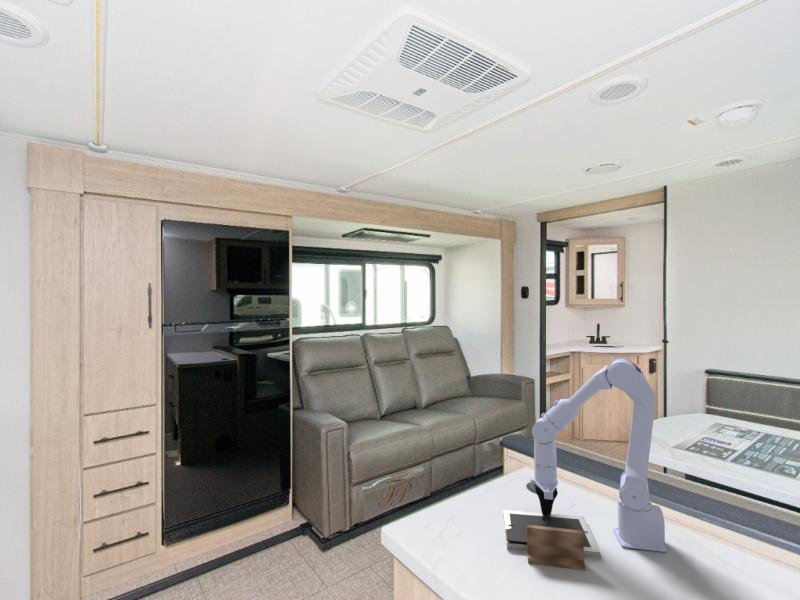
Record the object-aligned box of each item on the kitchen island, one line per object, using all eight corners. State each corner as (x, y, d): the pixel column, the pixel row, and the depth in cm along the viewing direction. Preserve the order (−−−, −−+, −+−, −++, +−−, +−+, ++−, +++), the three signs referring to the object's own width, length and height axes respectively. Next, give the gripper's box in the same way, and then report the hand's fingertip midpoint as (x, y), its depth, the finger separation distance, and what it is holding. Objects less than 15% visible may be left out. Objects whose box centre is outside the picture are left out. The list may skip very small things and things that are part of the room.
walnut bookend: (582, 561, 92) (582, 530, 92) (585, 570, 89) (585, 538, 89) (527, 554, 95) (526, 524, 95) (528, 562, 92) (527, 531, 92)
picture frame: (507, 551, 98) (600, 561, 94) (506, 540, 98) (600, 549, 94) (503, 517, 113) (583, 524, 109) (503, 507, 113) (583, 513, 109)
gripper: (528, 452, 119) (528, 499, 118) (531, 473, 104) (532, 526, 104) (553, 454, 117) (554, 502, 117) (561, 475, 103) (562, 529, 103)
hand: (546, 513), depth 111 cm, fingers closed
